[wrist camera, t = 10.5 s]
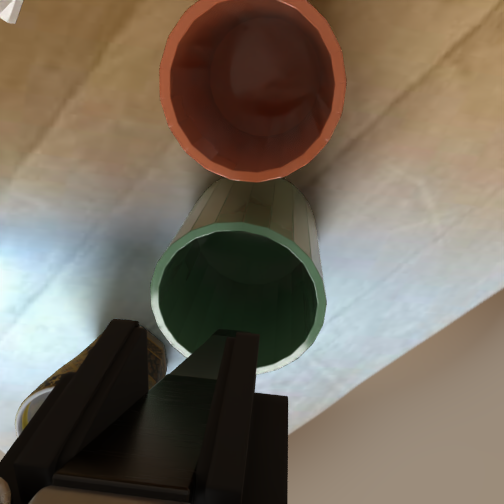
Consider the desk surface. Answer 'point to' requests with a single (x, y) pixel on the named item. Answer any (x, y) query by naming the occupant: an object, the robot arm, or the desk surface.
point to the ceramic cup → (37, 397)
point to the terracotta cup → (252, 86)
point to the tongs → (147, 442)
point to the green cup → (243, 272)
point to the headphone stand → (10, 10)
